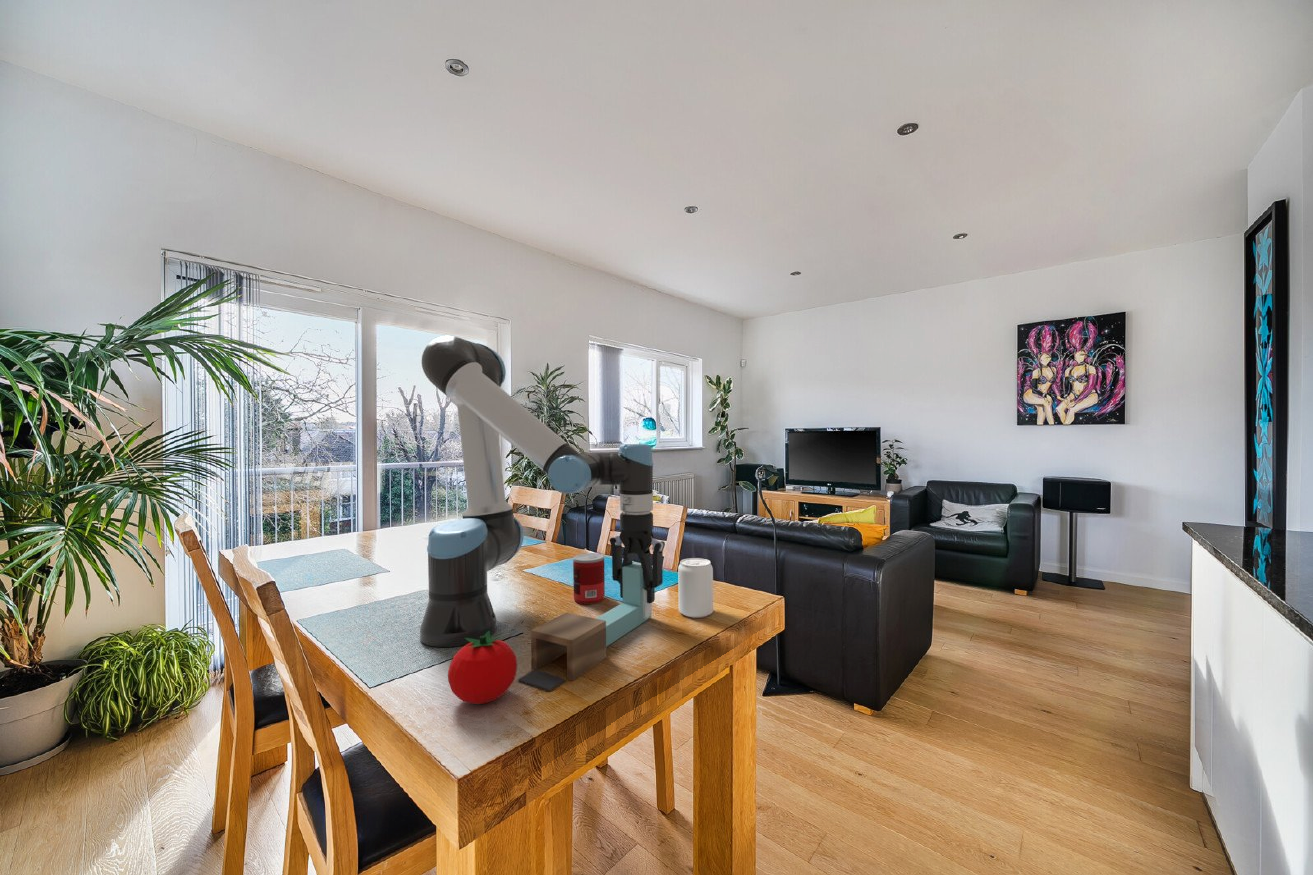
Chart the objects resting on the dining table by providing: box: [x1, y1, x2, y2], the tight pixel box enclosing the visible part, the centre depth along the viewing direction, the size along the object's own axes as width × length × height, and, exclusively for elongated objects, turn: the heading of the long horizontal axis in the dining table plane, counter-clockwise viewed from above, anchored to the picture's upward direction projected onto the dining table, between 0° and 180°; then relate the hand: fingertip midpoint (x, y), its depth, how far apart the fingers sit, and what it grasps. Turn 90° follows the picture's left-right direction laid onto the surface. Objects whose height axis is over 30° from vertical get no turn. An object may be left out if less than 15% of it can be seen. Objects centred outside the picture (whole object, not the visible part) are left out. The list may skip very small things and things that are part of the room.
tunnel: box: [530, 612, 607, 682], centre depth 91 cm, size 9×10×7 cm
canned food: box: [572, 552, 606, 605], centre depth 126 cm, size 8×8×11 cm
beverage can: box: [677, 557, 714, 619], centre depth 116 cm, size 8×8×12 cm
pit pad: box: [517, 669, 566, 693], centre depth 84 cm, size 7×4×1 cm, turn 61°
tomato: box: [447, 631, 518, 705], centre depth 79 cm, size 10×10×10 cm
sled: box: [595, 561, 652, 648], centre depth 105 cm, size 4×20×12 cm, turn 151°
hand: (637, 614), depth 112 cm, fingers closed on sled, 4 cm apart
